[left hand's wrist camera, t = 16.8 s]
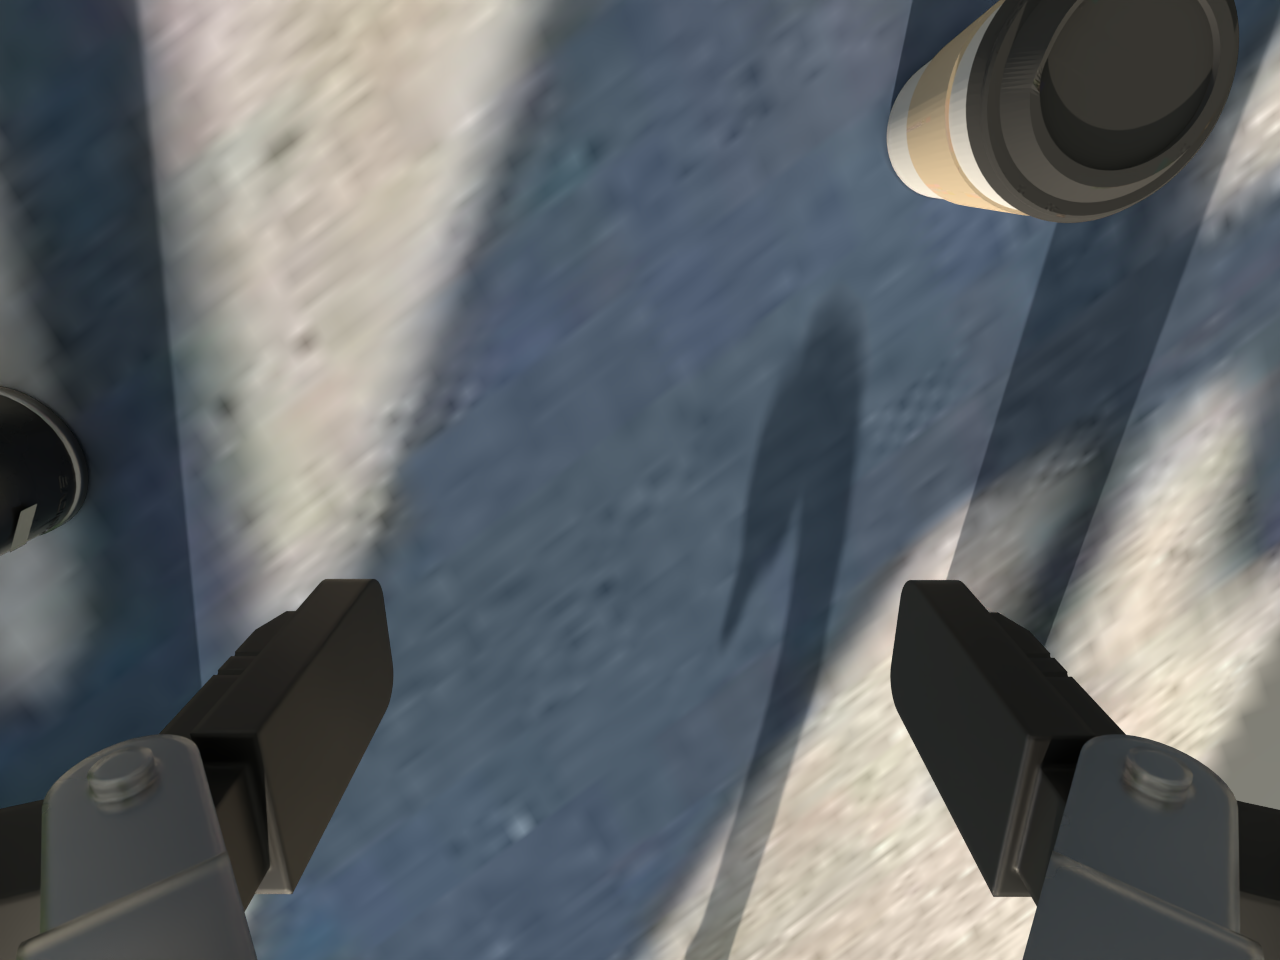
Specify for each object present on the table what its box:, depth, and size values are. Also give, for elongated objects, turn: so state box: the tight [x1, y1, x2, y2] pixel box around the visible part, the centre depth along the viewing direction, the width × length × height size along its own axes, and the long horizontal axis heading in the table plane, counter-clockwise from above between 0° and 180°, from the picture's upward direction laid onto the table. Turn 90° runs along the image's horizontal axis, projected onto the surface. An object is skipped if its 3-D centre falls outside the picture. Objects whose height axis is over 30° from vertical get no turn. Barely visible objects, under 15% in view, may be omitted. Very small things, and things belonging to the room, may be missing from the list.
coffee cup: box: [887, 0, 1239, 223], centre depth 31 cm, size 9×9×15 cm
